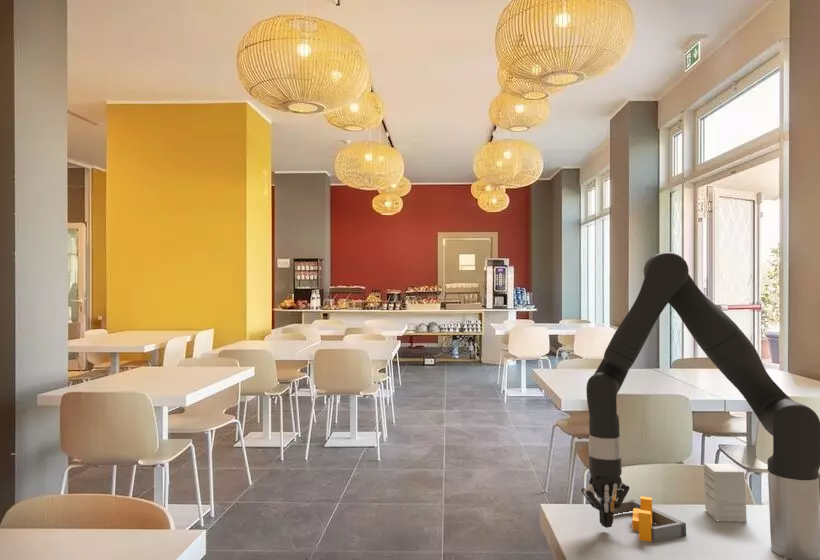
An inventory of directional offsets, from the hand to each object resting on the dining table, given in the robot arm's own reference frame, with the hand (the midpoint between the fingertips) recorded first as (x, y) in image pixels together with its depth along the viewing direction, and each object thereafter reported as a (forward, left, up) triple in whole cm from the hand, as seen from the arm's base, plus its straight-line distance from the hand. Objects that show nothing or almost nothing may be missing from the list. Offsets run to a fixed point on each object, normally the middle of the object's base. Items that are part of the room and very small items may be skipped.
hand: (606, 526), depth 132 cm
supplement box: (-35, +3, -2) cm, 35 cm away
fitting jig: (-11, 0, -1) cm, 11 cm away
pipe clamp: (-9, +3, -2) cm, 9 cm away
